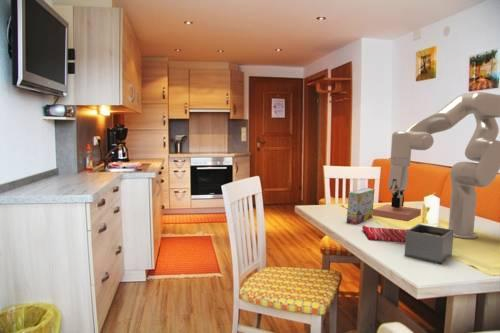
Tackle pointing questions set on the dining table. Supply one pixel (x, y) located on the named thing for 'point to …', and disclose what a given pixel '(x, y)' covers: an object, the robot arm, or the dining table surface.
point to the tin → (429, 243)
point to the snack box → (360, 205)
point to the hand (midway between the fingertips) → (397, 206)
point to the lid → (397, 212)
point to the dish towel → (385, 234)
